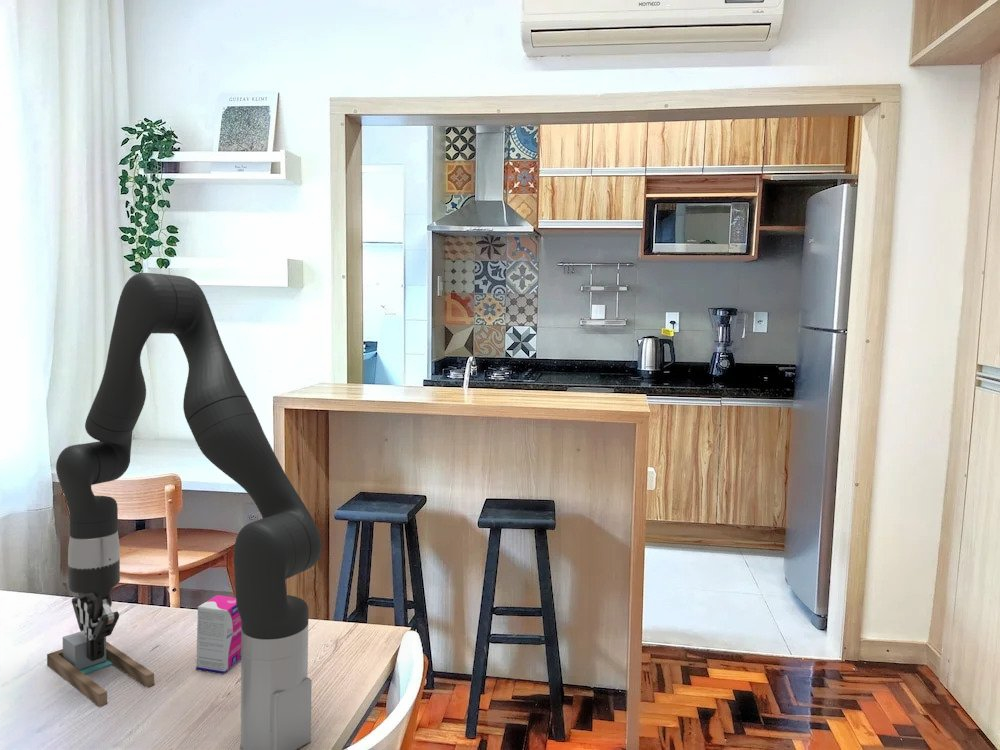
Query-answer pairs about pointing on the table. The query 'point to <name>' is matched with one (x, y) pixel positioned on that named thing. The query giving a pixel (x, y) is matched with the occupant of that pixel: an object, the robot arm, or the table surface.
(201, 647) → the supplement box
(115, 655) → the wooden u-shaped frame
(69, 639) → the block
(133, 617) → the table surface
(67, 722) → the table surface
